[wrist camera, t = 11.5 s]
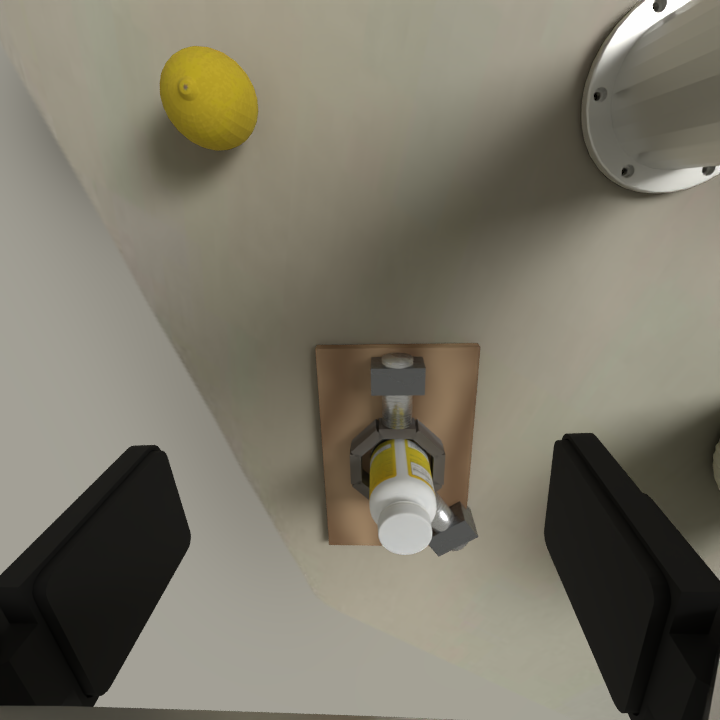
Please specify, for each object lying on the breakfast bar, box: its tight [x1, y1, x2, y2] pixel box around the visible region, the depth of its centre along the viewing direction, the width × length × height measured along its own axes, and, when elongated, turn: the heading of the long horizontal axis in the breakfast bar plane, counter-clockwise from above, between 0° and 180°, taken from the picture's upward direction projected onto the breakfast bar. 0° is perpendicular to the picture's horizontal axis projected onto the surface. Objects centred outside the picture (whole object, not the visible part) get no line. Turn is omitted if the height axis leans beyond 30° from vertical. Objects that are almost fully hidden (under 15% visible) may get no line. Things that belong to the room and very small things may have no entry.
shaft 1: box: [371, 352, 426, 429], centre depth 36 cm, size 6×4×4 cm
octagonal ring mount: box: [315, 343, 480, 546], centre depth 39 cm, size 14×22×3 cm, turn 2°
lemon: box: [160, 46, 258, 150], centre depth 27 cm, size 6×6×8 cm
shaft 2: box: [428, 492, 478, 556], centre depth 41 cm, size 6×4×4 cm
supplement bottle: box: [369, 439, 437, 555], centre depth 35 cm, size 5×5×10 cm
